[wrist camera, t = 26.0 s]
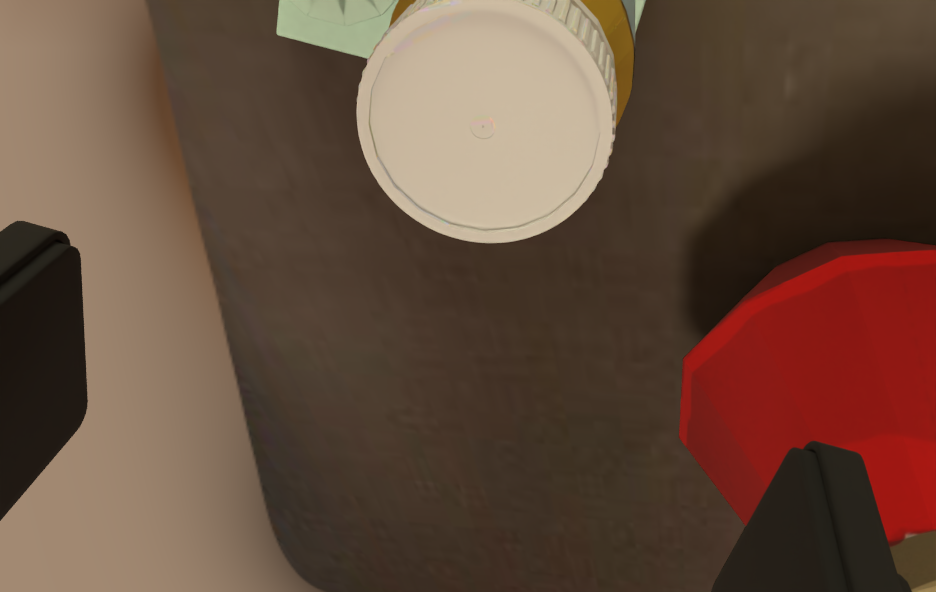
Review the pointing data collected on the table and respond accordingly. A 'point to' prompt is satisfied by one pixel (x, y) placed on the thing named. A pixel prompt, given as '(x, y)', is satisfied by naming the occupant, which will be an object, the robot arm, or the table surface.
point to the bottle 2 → (828, 384)
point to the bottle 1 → (495, 110)
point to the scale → (347, 22)
